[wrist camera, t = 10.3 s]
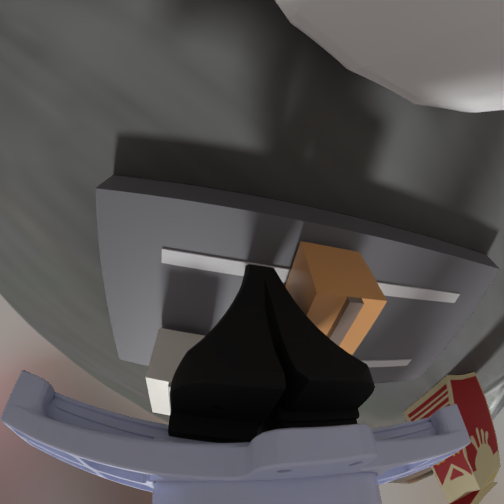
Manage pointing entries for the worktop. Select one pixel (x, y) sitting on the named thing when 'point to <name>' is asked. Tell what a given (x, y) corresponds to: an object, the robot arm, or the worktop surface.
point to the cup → (414, 46)
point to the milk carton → (480, 433)
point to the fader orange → (336, 292)
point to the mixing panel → (278, 257)
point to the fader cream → (166, 365)
